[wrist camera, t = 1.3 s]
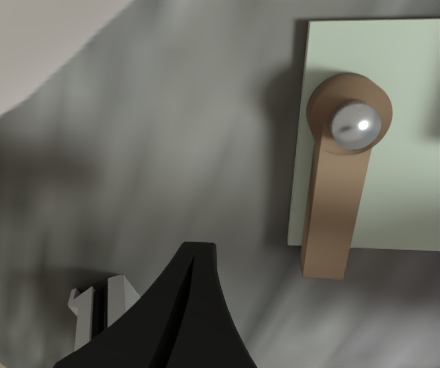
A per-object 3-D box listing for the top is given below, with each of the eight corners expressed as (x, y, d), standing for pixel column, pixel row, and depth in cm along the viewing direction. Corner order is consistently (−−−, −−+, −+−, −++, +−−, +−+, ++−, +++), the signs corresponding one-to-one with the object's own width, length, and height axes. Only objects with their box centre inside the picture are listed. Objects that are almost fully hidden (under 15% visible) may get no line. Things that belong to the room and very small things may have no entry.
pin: (378, 99, 15) (385, 105, 14) (369, 141, 16) (375, 149, 15) (332, 99, 15) (336, 105, 14) (326, 141, 16) (329, 149, 15)
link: (310, 72, 16) (315, 80, 15) (388, 72, 16) (401, 80, 14) (290, 259, 22) (292, 277, 21) (347, 261, 22) (353, 280, 20)
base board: (640, 13, 14) (655, 15, 14) (515, 247, 21) (521, 254, 20) (308, 20, 16) (310, 21, 15) (287, 239, 22) (288, 245, 22)
